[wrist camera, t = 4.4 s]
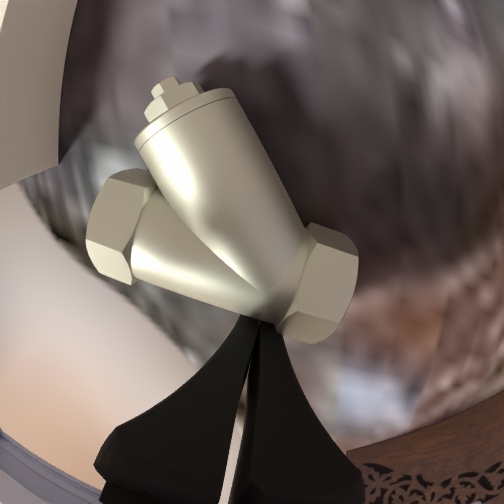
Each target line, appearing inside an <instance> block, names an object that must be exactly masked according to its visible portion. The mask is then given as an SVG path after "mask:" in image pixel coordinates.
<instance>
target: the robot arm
mask: <svg viewBox="0 0 504 504" xmlns="http://www.w3.org/2000/svg"><path fill="white" fill-rule="evenodd" d="M259 322H260V324H259ZM251 357H252V358H251ZM250 361H251V363H250ZM249 365H250V368H249ZM248 369H249V373H248ZM247 373H248V382H247V393H246V405H245V417H244V427H243V435H242V440H241V445H240V450H239V455H238V460H237V465H236V469H235V474H234V479H233V483H232V488H231V492H230V497H229V501H228V504H364V503H365V501H366V497H365V486H364V481H363V477H362V472H361V471H360V470H359V469H358V468H357V467H356V466H355V465H354V464H353V463H352V462H351V461H350V460H349V459H348V458H347V457H346V455H345V454H344V453H343V452H342V451H341V450H340V448H339V447H338V446H337V445H336V443H335V442H334V441H333V440H332V438H331V437H330V435H329V434H328V432H327V431H326V430H325V428H324V427H323V425H322V424H321V422H320V421H319V419H318V418H317V416H316V415H315V413H314V411H313V409H312V408H311V406H310V404H309V402H308V400H307V399H306V397H305V395H304V393H303V391H302V389H301V386H300V384H299V382H298V380H297V377H296V375H295V373H294V370H293V367H292V365H291V362H290V359H289V356H288V353H287V350H286V347H285V343H284V339H283V336H282V335H281V334H280V333H277V332H276V329H275V325H274V324H272V323H269V322H265V321H262V320H259V319H255V318H252V317H249V316H246V315H242V314H240V317H239V319H238V321H237V323H236V325H235V326H234V328H233V330H232V331H231V333H230V334H229V336H228V337H227V338H226V340H225V341H224V342H223V344H222V345H221V346H220V348H219V349H218V350H217V351H216V352H215V354H214V355H213V356H212V357H211V358H210V359H209V360H208V361H207V363H206V364H205V365H204V366H203V367H202V368H201V369H200V370H199V371H198V372H197V373H196V374H195V375H194V376H193V377H191V379H189V380H188V381H187V382H186V383H185V384H183V385H182V386H181V387H180V388H179V389H177V390H176V391H175V392H174V393H172V394H171V395H170V396H168V397H167V398H166V399H164V400H163V401H161V402H160V403H158V404H157V405H155V406H153V407H152V408H151V409H149V410H147V411H146V412H144V413H142V414H141V415H139V416H137V417H135V418H133V419H131V420H129V421H127V422H125V423H123V424H121V425H119V426H117V427H116V428H115V429H114V430H113V432H112V433H111V434H110V435H109V436H108V438H107V439H106V440H105V442H104V444H103V445H102V447H101V449H100V451H99V453H98V455H97V458H96V460H95V462H94V464H93V465H94V467H95V469H96V470H97V472H98V473H99V474H100V475H101V476H102V477H103V478H104V479H105V480H106V483H105V486H104V488H103V490H102V491H101V490H99V489H97V488H95V487H93V486H90V485H88V484H86V483H84V482H82V481H80V480H78V479H76V478H74V477H73V476H71V475H69V474H67V473H65V472H63V471H62V470H60V469H58V468H56V467H55V466H53V465H51V464H50V463H48V462H46V461H45V460H43V459H41V458H40V457H38V456H37V455H35V454H34V453H32V452H31V451H29V450H28V449H26V448H25V447H23V446H22V445H20V444H19V443H18V442H16V441H15V440H14V439H12V438H11V437H10V436H8V435H7V434H6V433H4V432H3V431H2V429H1V428H0V503H1V504H218V503H219V500H220V496H221V491H222V487H223V482H224V477H225V471H226V466H227V460H228V455H229V449H230V444H231V439H232V433H233V428H234V423H235V418H236V412H237V407H238V403H239V399H240V396H241V393H242V390H243V386H244V383H245V380H246V377H247ZM473 504H481V501H478V502H475V503H473Z"/></svg>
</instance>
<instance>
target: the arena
mask: <svg viewBox="0 0 504 504" xmlns="http://www.w3.org/2000/svg"><path fill="white" fill-rule="evenodd" d="M77 2H78V0H0V190H1V189H3V188H5V187H7V186H9V185H12V184H14V183H16V182H18V181H20V180H23V179H25V178H27V177H30V176H32V175H34V174H37V173H39V172H42V171H44V170H47V169H49V168H52V167H54V166H57V165H58V135H59V113H60V99H61V88H62V79H63V72H64V64H65V58H66V52H67V46H68V41H69V35H70V31H71V26H72V22H73V17H74V13H75V9H76V5H77Z"/></svg>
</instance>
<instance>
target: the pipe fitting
mask: <svg viewBox="0 0 504 504" xmlns="http://www.w3.org/2000/svg"><path fill="white" fill-rule="evenodd" d="M151 93H152V95H153V96H154V98H155V99H154V100H153V101H152V102H151V103H150V104H149V106H148V107H147V109H146V111H145V113H144V114H145V116H146V118H147V119H148V121H149V124H148V125H147V126H145V127H144V128H143V129H142V130H141V131H140V133H139V134H138V135H137V137H136V138H135V142H134V143H135V146H136V147H137V149H138V151H139V153H140V155H141V156H142V158H143V160H144V162H145V164H146V166H147V167H148V169H149V171H150V172H149V171H145V170H142V169H138V168H135V169H128V170H124V171H120V172H118V173H115V174H113V175H112V176H110V177H109V178H108V179H107V181H106V182H105V184H104V185H103V187H102V189H101V190H100V192H99V194H98V196H97V198H96V200H95V202H94V205H93V207H92V210H91V213H90V217H89V221H88V226H87V232H86V247H87V250H88V254H89V256H90V258H91V260H92V262H93V264H94V266H95V267H96V269H97V270H98V271H99V273H101V274H104V275H106V276H109V277H111V278H114V279H116V280H119V281H121V282H124V283H126V284H129V285H132V284H134V283H136V282H137V281H139V280H140V279H141V280H143V281H146V282H149V283H151V284H154V285H157V286H159V287H162V288H165V289H168V290H171V291H173V292H176V293H179V294H182V295H185V296H188V297H191V298H194V299H196V300H199V301H202V302H205V303H208V304H211V305H214V306H217V307H220V308H224V309H227V310H230V311H233V312H236V313H239V314H242V315H246V316H249V317H252V318H255V319H259V320H262V321H265V322H269V323H272V324H274V325H275V329H276V332H277V333H280V334H281V335H282V336H284V337H288V338H292V339H295V340H299V341H303V342H306V343H310V344H315V343H318V342H320V341H322V340H324V339H326V338H327V337H329V336H330V335H331V334H332V333H333V332H334V331H335V330H336V329H337V327H338V326H339V325H340V323H341V321H342V320H343V318H344V316H345V314H346V312H347V309H348V307H349V305H350V302H351V299H352V296H353V293H354V290H355V286H356V281H357V275H358V265H359V258H358V251H357V248H356V246H355V245H354V243H353V242H352V240H351V239H350V238H349V237H348V236H347V235H346V234H343V233H340V232H338V231H335V230H332V229H329V228H326V227H324V226H321V225H318V224H315V223H312V222H311V223H310V224H309V225H308V226H307V227H306V228H304V226H303V224H302V222H301V220H300V218H299V216H298V214H297V212H296V210H295V207H294V205H293V203H292V201H291V199H290V197H289V195H288V193H287V191H286V189H285V188H284V186H283V184H282V182H281V180H280V178H279V176H278V174H277V172H276V170H275V168H274V166H273V164H272V162H271V160H270V159H269V157H268V155H267V153H266V151H265V149H264V147H263V145H262V144H261V142H260V140H259V138H258V136H257V134H256V132H255V131H254V129H253V127H252V125H251V123H250V122H249V120H248V118H247V116H246V114H245V113H244V111H243V109H242V107H241V106H240V104H239V102H238V100H237V98H236V96H235V95H234V93H233V91H232V90H231V89H229V88H218V89H213V90H210V91H206V92H204V91H203V89H202V87H201V86H200V85H199V84H197V83H196V82H187V83H183V84H182V83H181V81H180V79H179V78H177V77H170V78H168V79H165V80H163V81H161V82H160V83H158V84H157V85H156V86H155V87H154V88H153V90H152V91H151Z"/></svg>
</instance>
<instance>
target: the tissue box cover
mask: <svg viewBox="0 0 504 504" xmlns="http://www.w3.org/2000/svg"><path fill="white" fill-rule="evenodd" d="M346 457H347V458H348V459H349V460H350V461H351V462H352V463H353V464H354V465H355V466H356V467H357V468H358V469H359V470H360V471H361V472H362V477H363V481H364V486H365V497H366V501H365V503H364V504H473V503H475V502H478V501H481V504H504V391H503V392H501V393H499V394H497V395H496V396H494V397H492V398H490V399H488V400H486V401H484V402H482V403H480V404H478V405H476V406H474V407H472V408H470V409H468V410H466V411H464V412H462V413H460V414H457V415H455V416H453V417H450V418H448V419H446V420H443V421H441V422H439V423H436V424H433V425H431V426H428V427H426V428H423V429H420V430H418V431H415V432H412V433H409V434H406V435H403V436H400V437H397V438H394V439H390V440H387V441H384V442H380V443H377V444H373V445H369V446H365V447H361V448H357V449H353V450H349V451H346Z"/></svg>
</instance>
